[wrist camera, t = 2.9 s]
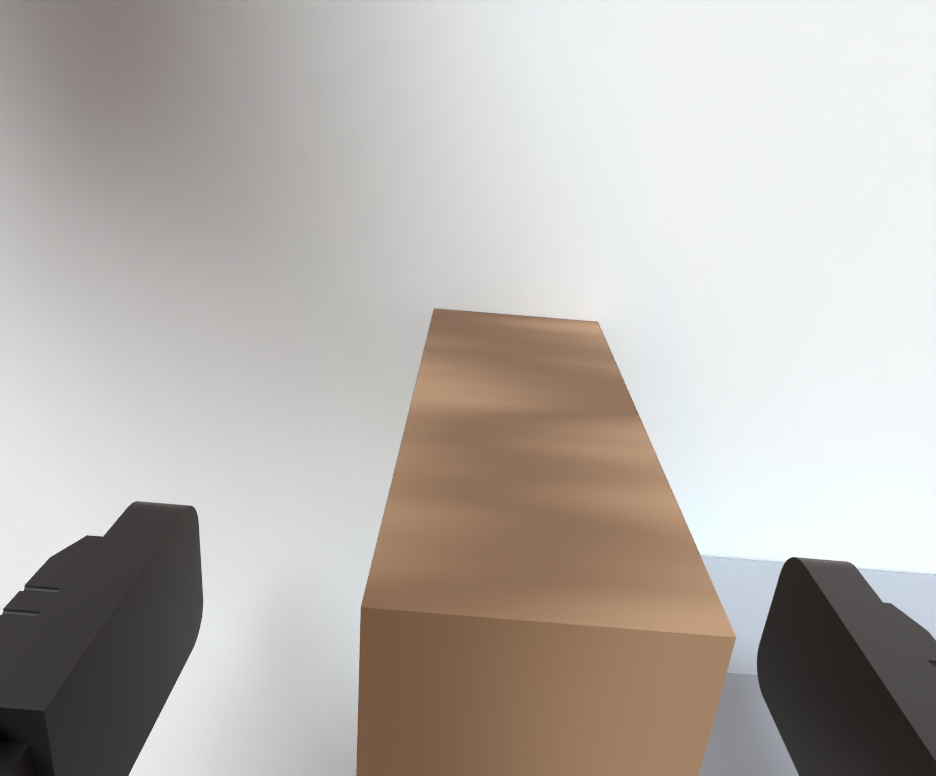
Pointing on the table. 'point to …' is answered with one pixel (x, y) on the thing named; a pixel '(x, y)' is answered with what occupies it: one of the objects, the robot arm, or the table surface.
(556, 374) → the walnut peg
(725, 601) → the socket block
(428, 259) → the table surface
